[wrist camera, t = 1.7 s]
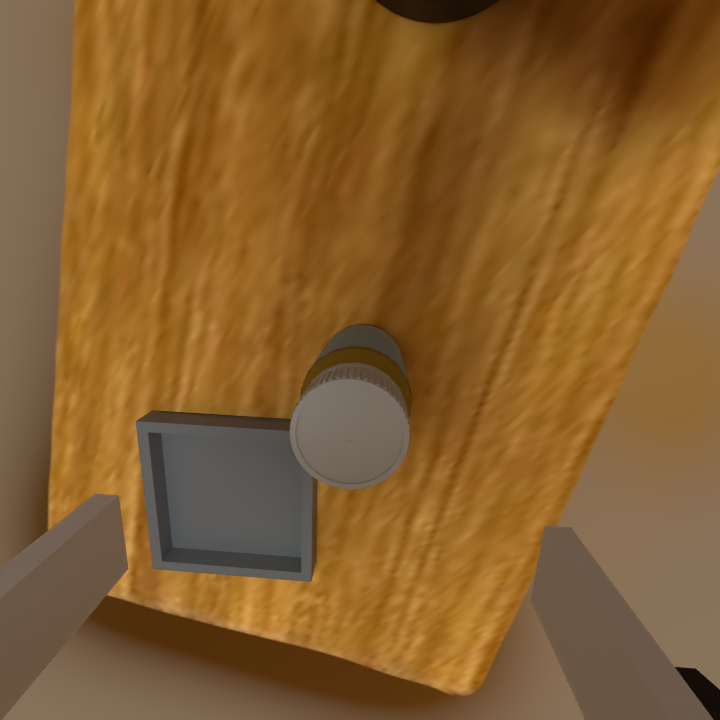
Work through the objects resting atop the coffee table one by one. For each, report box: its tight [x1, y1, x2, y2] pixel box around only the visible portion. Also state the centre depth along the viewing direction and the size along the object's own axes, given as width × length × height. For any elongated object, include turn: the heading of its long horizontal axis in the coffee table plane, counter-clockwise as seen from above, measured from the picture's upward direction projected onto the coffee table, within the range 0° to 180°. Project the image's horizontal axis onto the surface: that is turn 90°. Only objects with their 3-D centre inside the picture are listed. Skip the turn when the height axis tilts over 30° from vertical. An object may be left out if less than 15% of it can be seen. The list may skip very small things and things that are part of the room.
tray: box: [136, 411, 317, 582], centre depth 36 cm, size 16×16×2 cm
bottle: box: [290, 324, 411, 489], centre depth 26 cm, size 7×7×15 cm
